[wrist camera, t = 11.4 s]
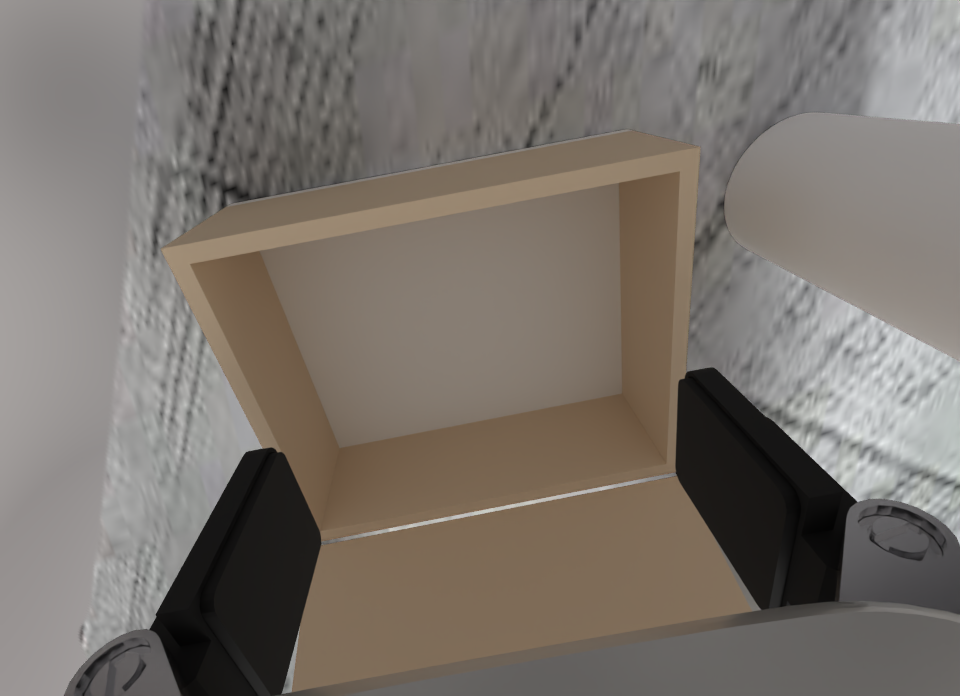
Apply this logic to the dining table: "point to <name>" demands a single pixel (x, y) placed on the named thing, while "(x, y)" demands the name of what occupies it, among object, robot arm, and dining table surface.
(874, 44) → the dining table surface
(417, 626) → the lid
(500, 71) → the dining table surface
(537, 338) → the mailer box
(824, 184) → the cup
